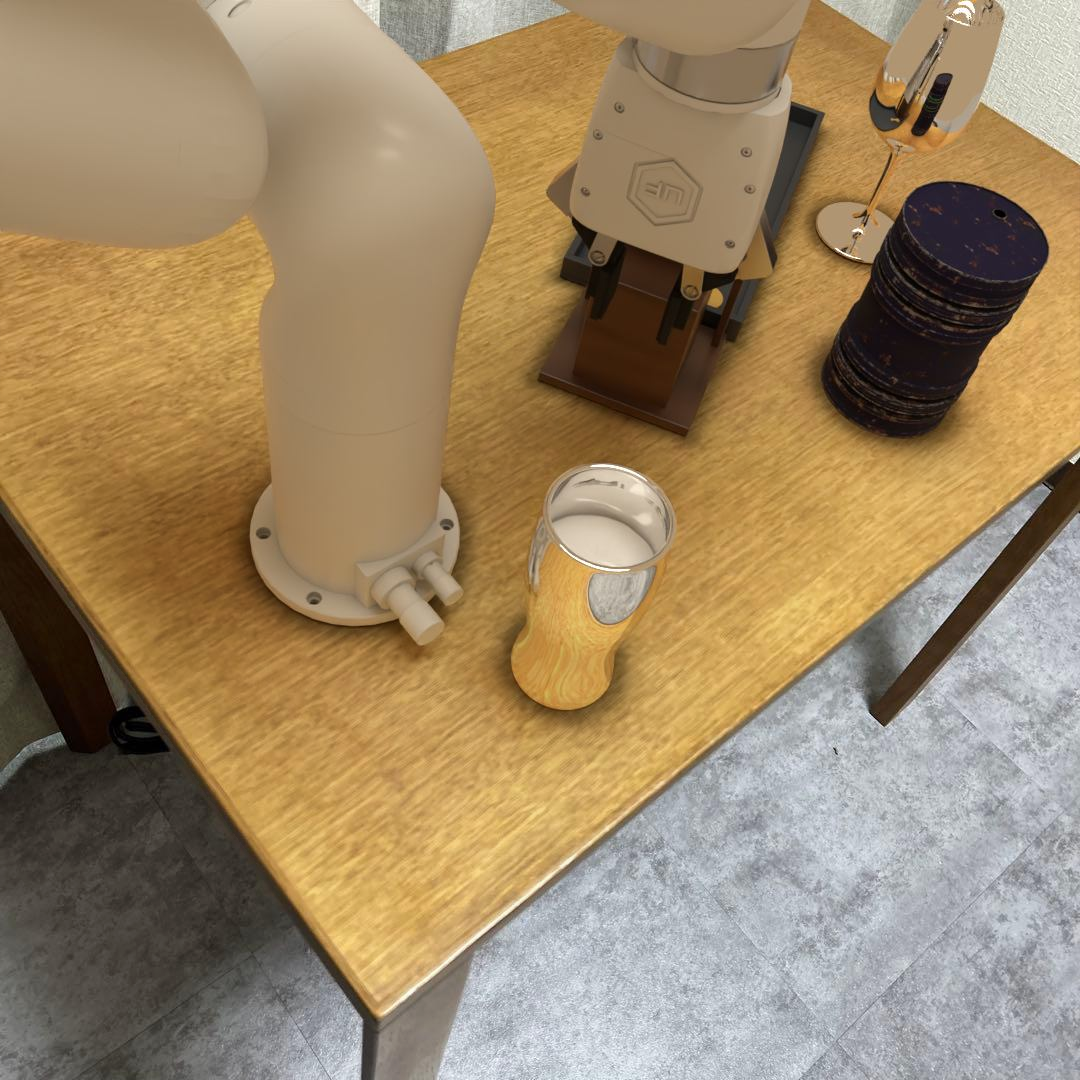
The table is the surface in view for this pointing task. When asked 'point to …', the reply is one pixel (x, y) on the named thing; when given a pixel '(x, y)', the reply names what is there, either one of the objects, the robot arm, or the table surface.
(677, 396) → the stand
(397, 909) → the table surface
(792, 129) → the tray
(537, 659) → the beer glass
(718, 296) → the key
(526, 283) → the table surface
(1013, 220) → the dark purple cylinder
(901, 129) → the wineglass
